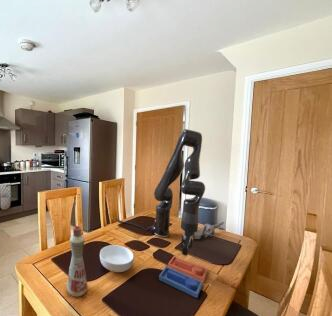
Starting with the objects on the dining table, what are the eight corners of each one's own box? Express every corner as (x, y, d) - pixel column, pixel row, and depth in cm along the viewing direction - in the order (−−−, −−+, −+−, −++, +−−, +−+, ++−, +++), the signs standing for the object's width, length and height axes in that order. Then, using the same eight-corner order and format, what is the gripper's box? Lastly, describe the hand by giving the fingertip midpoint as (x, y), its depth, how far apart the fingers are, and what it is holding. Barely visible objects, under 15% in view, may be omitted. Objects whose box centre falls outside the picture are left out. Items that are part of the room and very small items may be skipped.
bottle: (78, 279, 89) (80, 220, 87) (91, 291, 82) (93, 227, 80) (62, 288, 83) (63, 225, 81) (74, 301, 77) (76, 233, 74)
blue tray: (158, 279, 90) (158, 275, 90) (165, 270, 97) (165, 266, 97) (197, 298, 80) (197, 293, 80) (202, 286, 87) (202, 281, 87)
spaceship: (231, 222, 139) (220, 215, 145) (200, 237, 123) (189, 228, 129) (226, 230, 143) (216, 222, 149) (195, 246, 127) (185, 236, 133)
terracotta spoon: (173, 266, 100) (174, 261, 100) (176, 262, 103) (177, 257, 103) (201, 277, 92) (201, 271, 92) (203, 272, 95) (203, 267, 95)
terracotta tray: (167, 267, 100) (167, 263, 99) (173, 259, 107) (173, 255, 106) (203, 282, 89) (203, 278, 89) (207, 272, 96) (207, 268, 96)
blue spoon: (165, 278, 91) (166, 272, 90) (169, 273, 94) (169, 268, 94) (195, 292, 83) (195, 286, 82) (197, 286, 86) (198, 280, 86)
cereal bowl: (110, 282, 88) (111, 267, 87) (93, 262, 102) (94, 249, 102) (140, 271, 95) (140, 258, 95) (120, 254, 110) (120, 242, 109)
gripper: (185, 214, 105) (183, 243, 106) (177, 222, 94) (174, 254, 96) (201, 218, 100) (198, 248, 102) (194, 227, 89) (191, 260, 91)
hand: (186, 251), depth 99 cm, fingers open, 8 cm apart
